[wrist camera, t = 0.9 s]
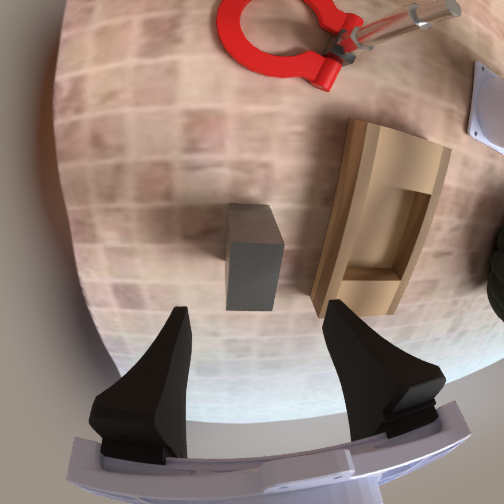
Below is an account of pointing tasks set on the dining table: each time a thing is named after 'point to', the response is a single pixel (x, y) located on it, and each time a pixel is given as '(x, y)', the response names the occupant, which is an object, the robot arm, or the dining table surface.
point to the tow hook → (340, 45)
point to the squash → (497, 278)
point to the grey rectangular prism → (252, 258)
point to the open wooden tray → (378, 218)
